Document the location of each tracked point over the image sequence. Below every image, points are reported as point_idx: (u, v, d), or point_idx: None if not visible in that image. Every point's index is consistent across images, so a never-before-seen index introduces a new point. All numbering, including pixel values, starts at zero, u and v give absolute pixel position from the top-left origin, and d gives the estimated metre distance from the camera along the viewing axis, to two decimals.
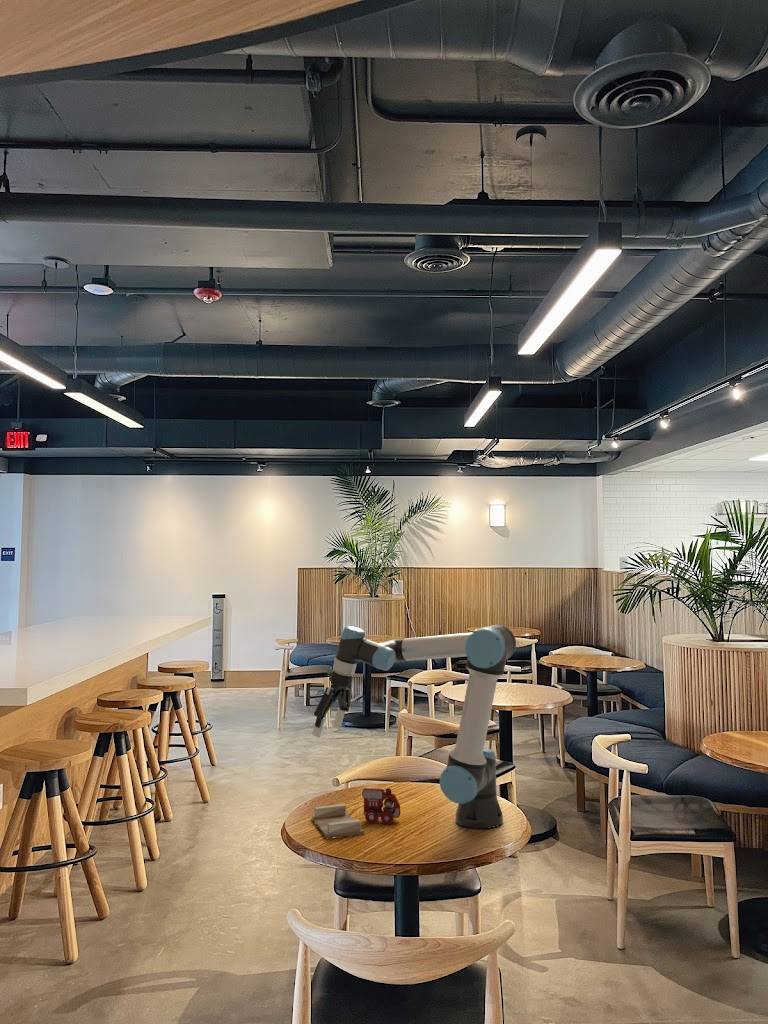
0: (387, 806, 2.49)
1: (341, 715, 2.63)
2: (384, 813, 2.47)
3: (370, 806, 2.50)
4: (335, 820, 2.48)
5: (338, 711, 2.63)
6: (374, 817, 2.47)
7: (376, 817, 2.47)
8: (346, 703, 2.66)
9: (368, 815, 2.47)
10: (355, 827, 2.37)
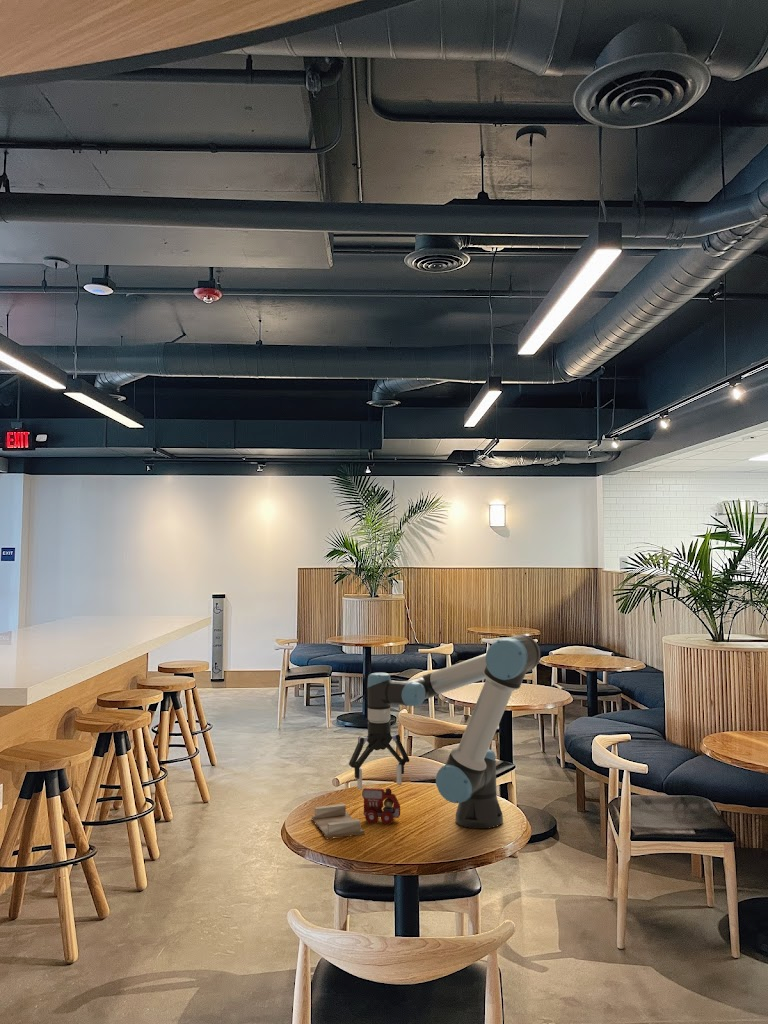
0: (387, 806, 2.49)
1: (398, 769, 2.53)
2: (384, 813, 2.47)
3: (370, 806, 2.50)
4: (335, 820, 2.48)
5: (397, 765, 2.54)
6: (374, 817, 2.47)
7: (376, 817, 2.47)
8: None
9: (368, 815, 2.47)
10: (355, 827, 2.37)
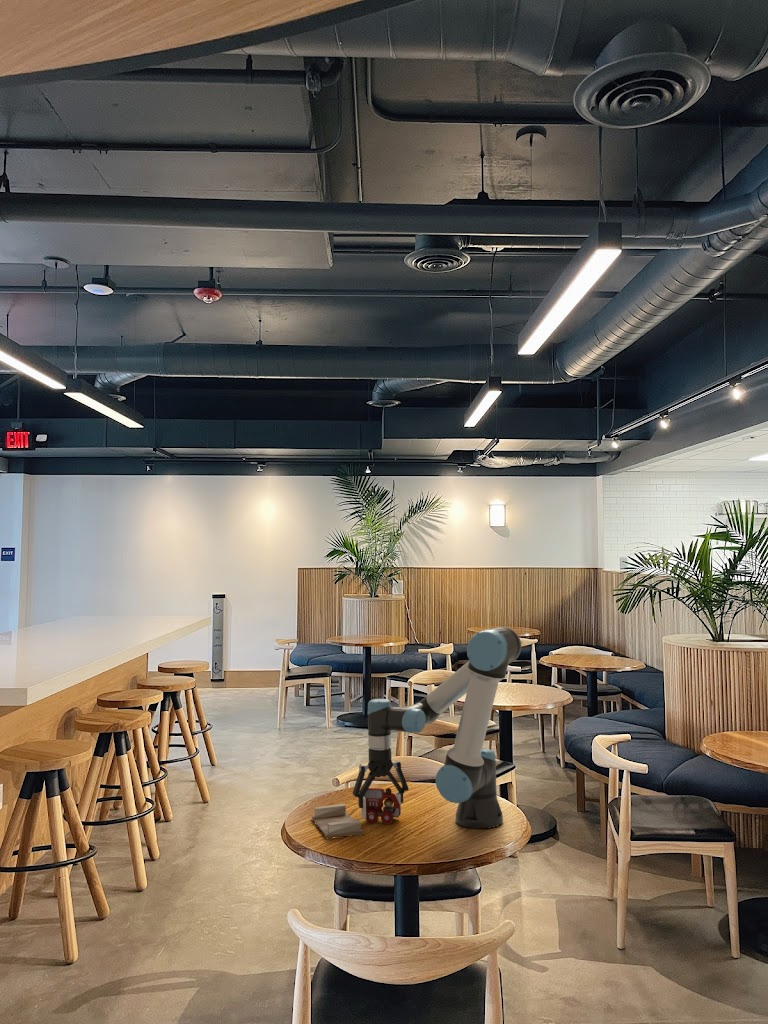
0: (387, 806, 2.49)
1: (397, 798, 2.52)
2: (384, 813, 2.47)
3: (370, 805, 2.50)
4: (335, 820, 2.48)
5: (396, 794, 2.53)
6: (374, 817, 2.47)
7: (376, 817, 2.47)
8: None
9: (368, 815, 2.47)
10: (355, 827, 2.37)
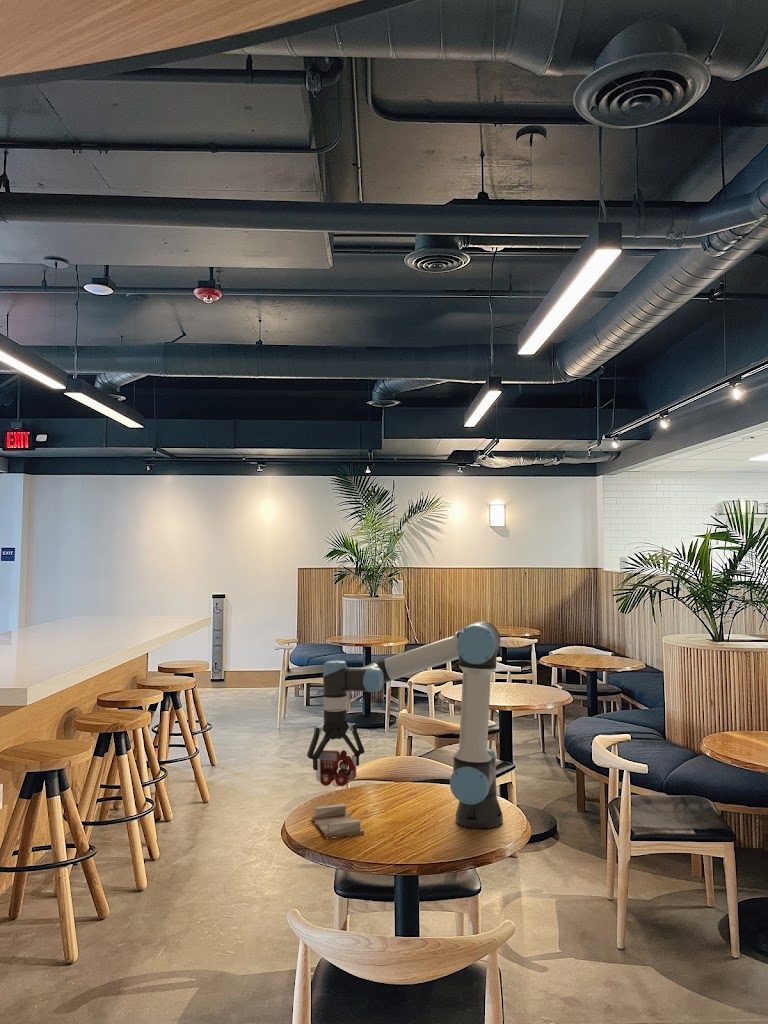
0: (342, 768, 2.45)
1: (353, 761, 2.48)
2: (338, 775, 2.43)
3: (325, 768, 2.46)
4: (335, 820, 2.48)
5: (352, 757, 2.49)
6: (328, 779, 2.43)
7: (330, 779, 2.43)
8: None
9: (323, 777, 2.44)
10: (355, 827, 2.37)
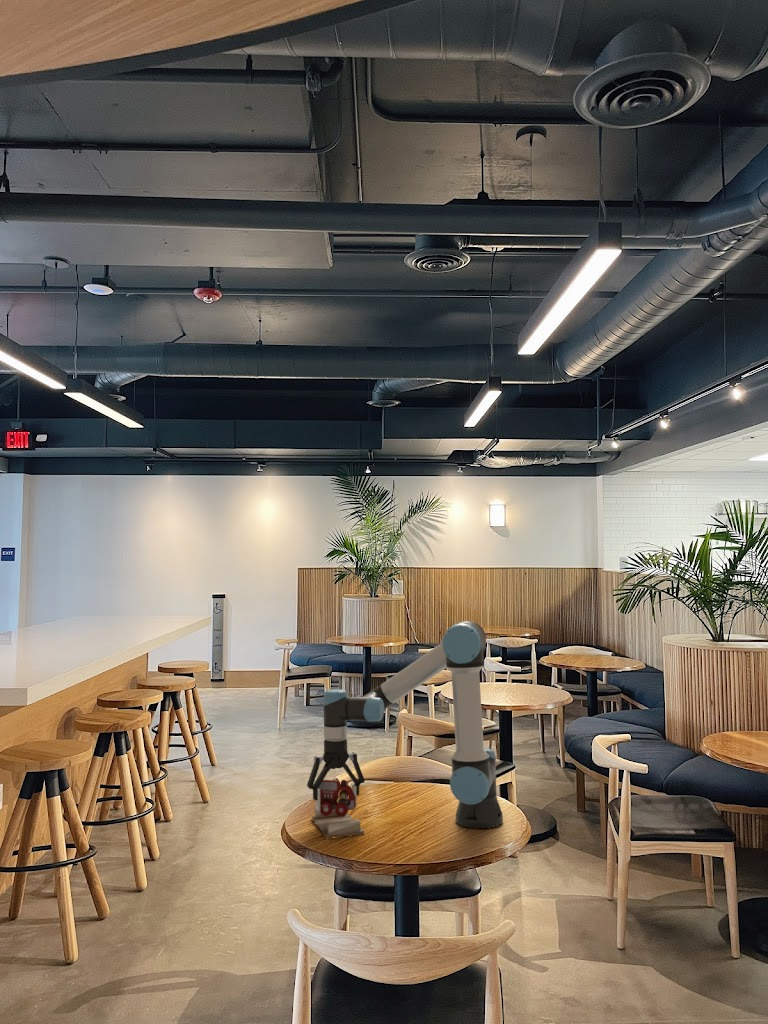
0: (342, 798, 2.44)
1: (353, 791, 2.47)
2: (338, 805, 2.42)
3: (325, 797, 2.46)
4: (335, 820, 2.48)
5: (352, 786, 2.48)
6: (328, 809, 2.43)
7: (330, 809, 2.43)
8: None
9: (323, 807, 2.43)
10: (355, 827, 2.37)
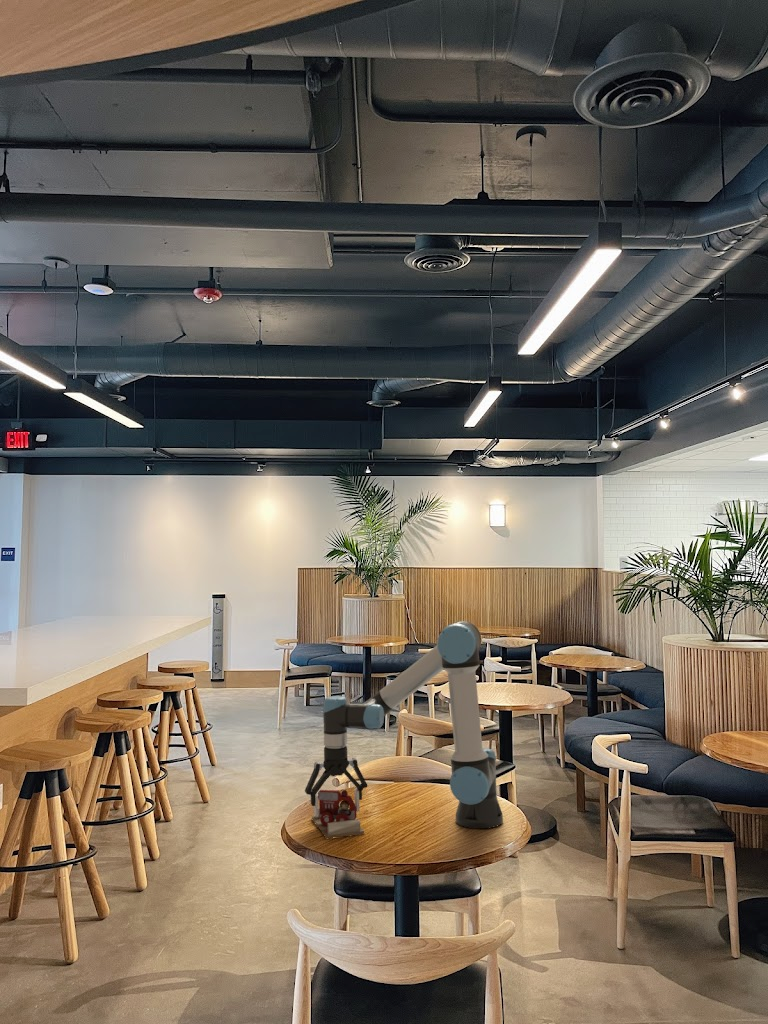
0: (343, 808, 2.44)
1: (356, 795, 2.47)
2: (339, 815, 2.42)
3: (326, 808, 2.45)
4: (335, 820, 2.48)
5: (355, 791, 2.49)
6: (329, 820, 2.42)
7: (331, 819, 2.42)
8: None
9: (323, 817, 2.43)
10: (355, 827, 2.37)
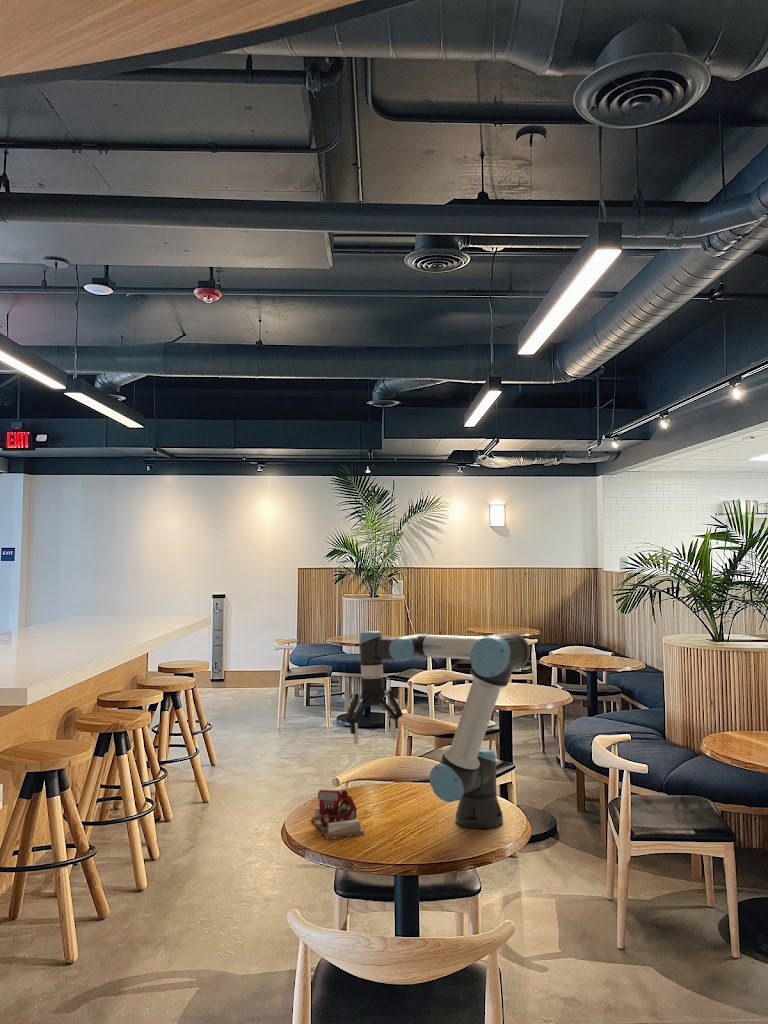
0: (343, 808, 2.44)
1: (392, 724, 2.60)
2: (339, 815, 2.42)
3: (326, 808, 2.45)
4: (335, 820, 2.48)
5: (391, 720, 2.61)
6: (329, 820, 2.42)
7: (331, 819, 2.42)
8: None
9: (323, 817, 2.43)
10: (355, 827, 2.37)
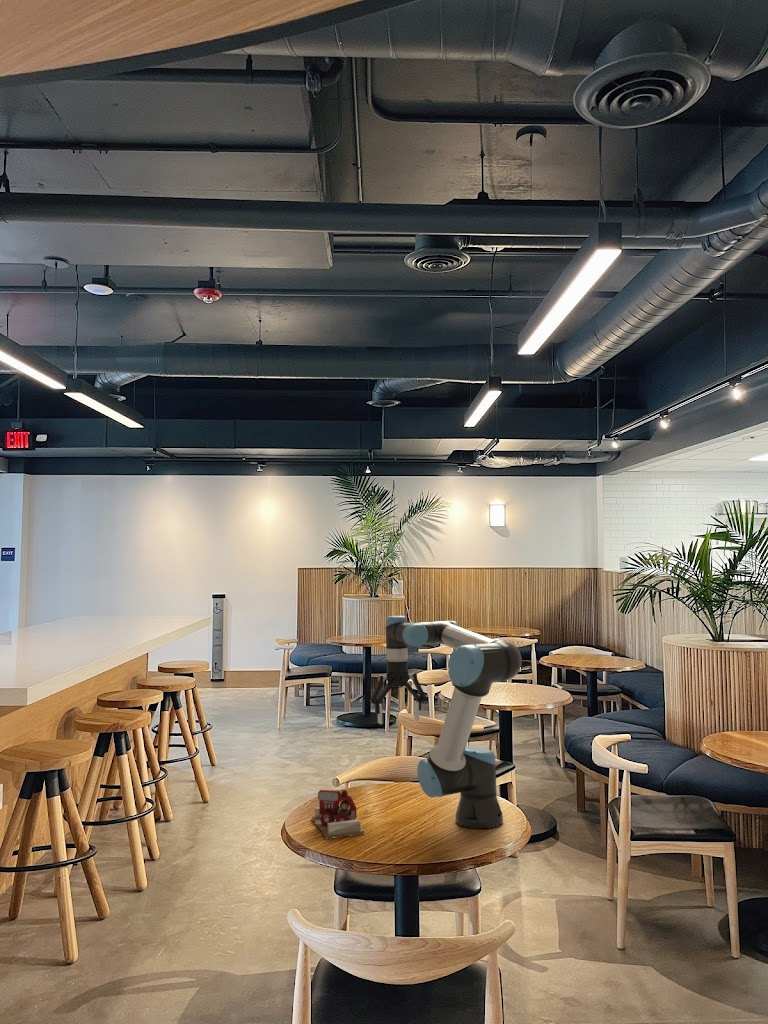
0: (343, 808, 2.44)
1: (416, 706, 2.69)
2: (339, 815, 2.42)
3: (326, 808, 2.45)
4: (335, 820, 2.48)
5: (414, 702, 2.70)
6: (329, 820, 2.42)
7: (331, 819, 2.42)
8: None
9: (323, 817, 2.43)
10: (355, 827, 2.37)
